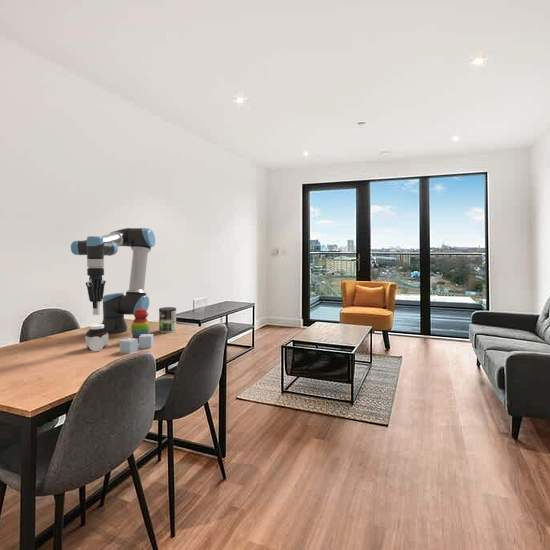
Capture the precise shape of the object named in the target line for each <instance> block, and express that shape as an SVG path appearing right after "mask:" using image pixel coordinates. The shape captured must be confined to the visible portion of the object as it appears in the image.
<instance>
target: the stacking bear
mask: <svg viewBox="0 0 550 550" xmlns="http://www.w3.org/2000/svg"><path fill="white" fill-rule="evenodd" d="M133 316H134V319H133V321H132V323H131V328H130V330H131V334H132V338H134V339H138V343H139V336H140V335H141V334H150V324H149V321H148V316H149V312H148V311H146V310H145V309H142V308H140V309H137V310H135V312H134V315H133Z"/></svg>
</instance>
